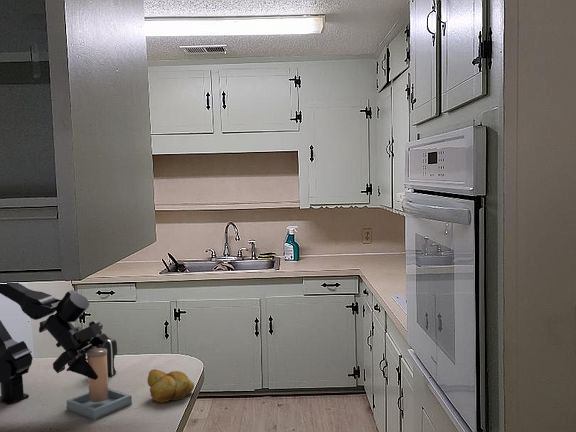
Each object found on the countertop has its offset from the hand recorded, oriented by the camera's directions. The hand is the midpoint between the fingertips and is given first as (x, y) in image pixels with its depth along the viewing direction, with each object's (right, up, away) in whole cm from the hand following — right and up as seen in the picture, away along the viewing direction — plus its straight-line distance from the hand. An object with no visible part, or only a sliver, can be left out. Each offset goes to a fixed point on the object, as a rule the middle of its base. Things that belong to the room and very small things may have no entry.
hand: (102, 375), depth 158 cm
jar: (-1, -7, +1) cm, 7 cm away
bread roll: (+18, -8, +7) cm, 21 cm away
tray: (-1, -9, +1) cm, 9 cm away
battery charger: (-7, -7, +27) cm, 29 cm away
